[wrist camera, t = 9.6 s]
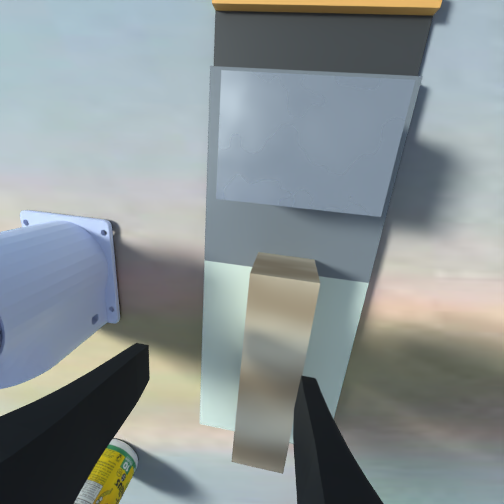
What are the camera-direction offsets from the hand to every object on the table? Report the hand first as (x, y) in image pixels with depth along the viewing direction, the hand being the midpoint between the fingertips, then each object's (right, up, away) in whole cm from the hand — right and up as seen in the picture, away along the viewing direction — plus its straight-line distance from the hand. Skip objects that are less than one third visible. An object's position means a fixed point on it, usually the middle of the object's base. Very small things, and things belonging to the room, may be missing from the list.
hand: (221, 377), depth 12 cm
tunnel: (+5, +12, +5) cm, 14 cm away
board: (+4, +4, +8) cm, 10 cm away
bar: (+3, -2, +9) cm, 10 cm away
